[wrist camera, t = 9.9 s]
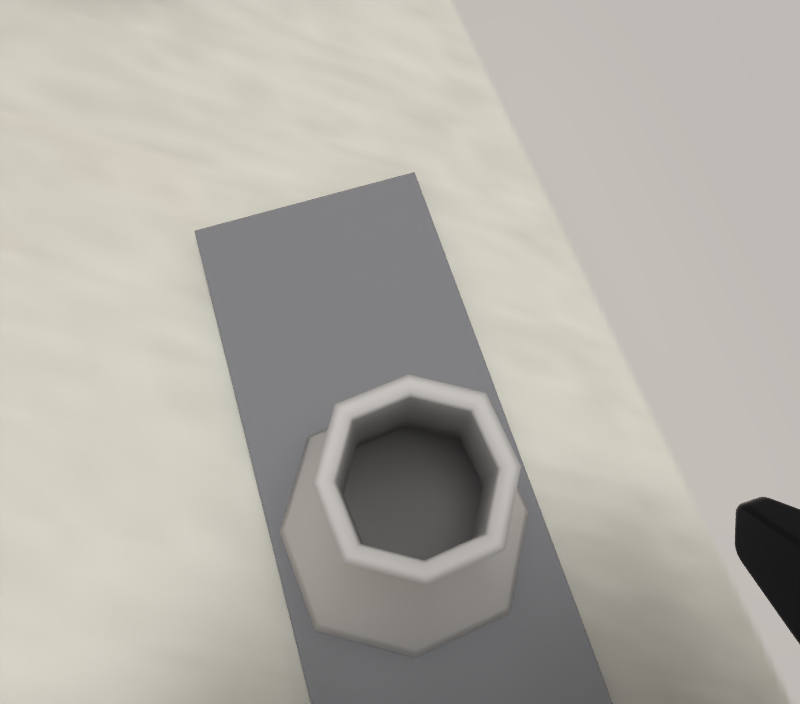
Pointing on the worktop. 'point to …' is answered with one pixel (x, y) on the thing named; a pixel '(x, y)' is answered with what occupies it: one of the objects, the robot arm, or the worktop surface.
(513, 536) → the flask
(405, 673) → the charcoal mat
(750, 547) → the robot arm
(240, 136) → the worktop surface
